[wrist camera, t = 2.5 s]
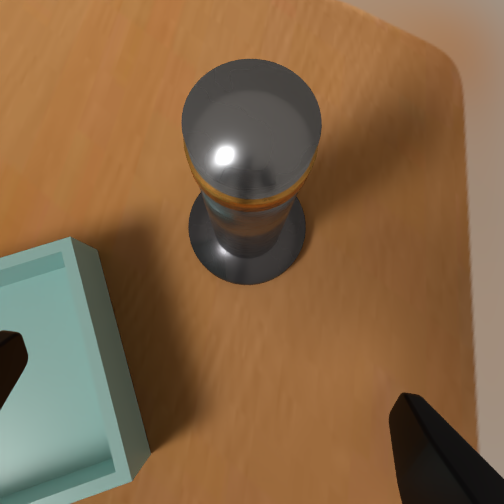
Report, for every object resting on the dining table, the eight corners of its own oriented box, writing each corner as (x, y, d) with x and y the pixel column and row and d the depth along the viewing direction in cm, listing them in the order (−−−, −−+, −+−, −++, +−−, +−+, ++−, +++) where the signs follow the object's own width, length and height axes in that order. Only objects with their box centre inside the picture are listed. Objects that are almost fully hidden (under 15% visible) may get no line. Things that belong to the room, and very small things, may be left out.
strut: (291, 247, 22) (346, 166, 11) (224, 269, 22) (203, 210, 10) (269, 183, 23) (296, 40, 11) (203, 203, 23) (160, 77, 11)
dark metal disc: (320, 264, 23) (322, 262, 22) (209, 300, 22) (208, 300, 22) (282, 160, 24) (283, 156, 23) (176, 192, 23) (174, 189, 23)
